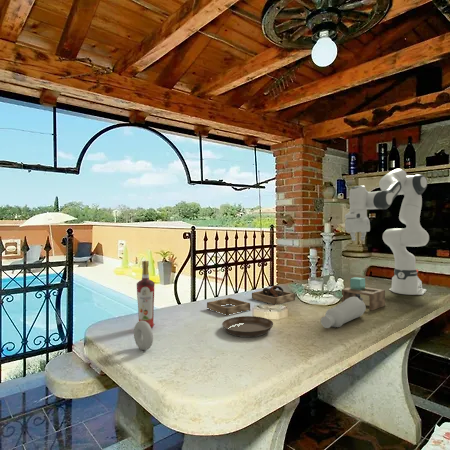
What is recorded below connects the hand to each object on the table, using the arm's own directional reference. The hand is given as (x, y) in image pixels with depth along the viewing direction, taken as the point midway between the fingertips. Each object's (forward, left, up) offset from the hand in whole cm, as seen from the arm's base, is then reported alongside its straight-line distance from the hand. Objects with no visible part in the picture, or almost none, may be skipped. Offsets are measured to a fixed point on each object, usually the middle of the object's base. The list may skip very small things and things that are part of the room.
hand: (358, 240), depth 176 cm
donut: (+120, -14, -33) cm, 125 cm away
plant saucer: (+79, -5, -34) cm, 86 cm away
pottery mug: (+30, -36, -34) cm, 58 cm away
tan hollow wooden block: (+7, +6, -33) cm, 34 cm away
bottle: (+42, +15, -34) cm, 56 cm away
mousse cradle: (+65, -34, -33) cm, 81 cm away
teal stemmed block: (+7, +3, -31) cm, 32 cm away
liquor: (+109, -35, -33) cm, 119 cm away
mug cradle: (+32, -34, -33) cm, 57 cm away
